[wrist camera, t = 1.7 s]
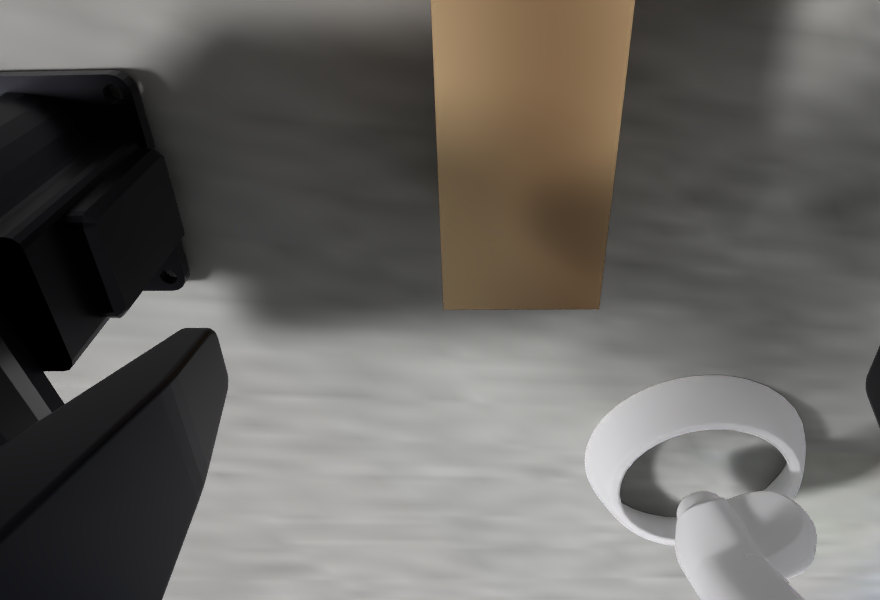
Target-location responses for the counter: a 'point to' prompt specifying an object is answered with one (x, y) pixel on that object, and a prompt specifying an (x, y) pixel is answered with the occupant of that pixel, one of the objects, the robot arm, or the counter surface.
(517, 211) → the wooden block
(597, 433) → the vr controller
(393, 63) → the counter surface
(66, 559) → the robot arm
